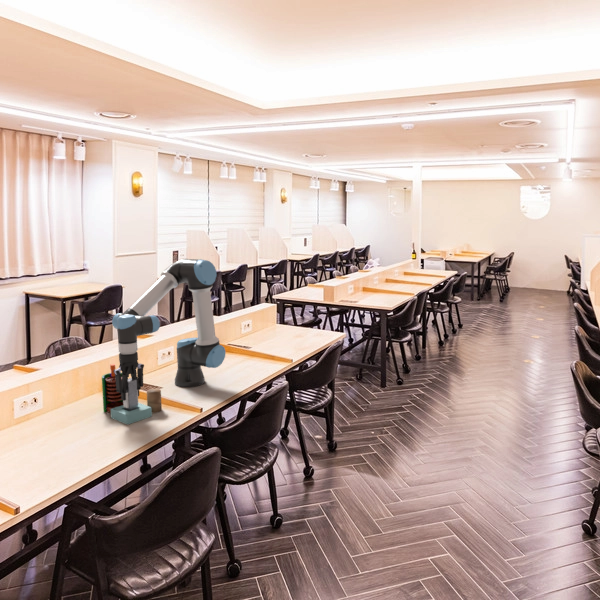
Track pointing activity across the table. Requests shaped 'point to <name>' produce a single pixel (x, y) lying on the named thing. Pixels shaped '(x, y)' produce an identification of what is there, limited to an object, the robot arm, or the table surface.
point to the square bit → (132, 394)
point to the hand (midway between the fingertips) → (131, 405)
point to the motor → (110, 391)
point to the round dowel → (154, 400)
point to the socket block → (131, 414)
